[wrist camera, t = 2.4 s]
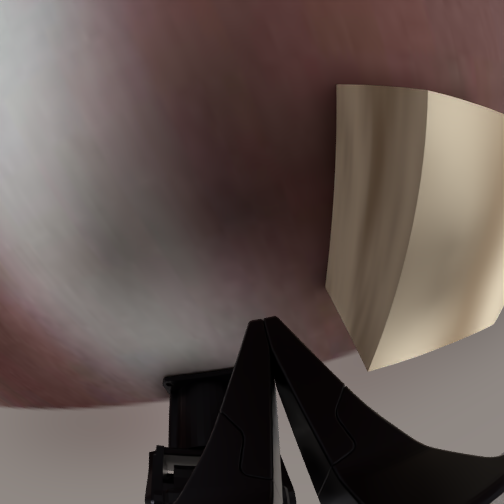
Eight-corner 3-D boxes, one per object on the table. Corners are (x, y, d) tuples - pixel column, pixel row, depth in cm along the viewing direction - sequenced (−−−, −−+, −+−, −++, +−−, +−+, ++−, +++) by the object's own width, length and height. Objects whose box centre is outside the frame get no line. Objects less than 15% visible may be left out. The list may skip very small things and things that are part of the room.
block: (324, 285, 18) (367, 371, 12) (334, 84, 12) (428, 90, 6) (439, 265, 19) (493, 324, 13) (468, 108, 13) (553, 137, 7)
